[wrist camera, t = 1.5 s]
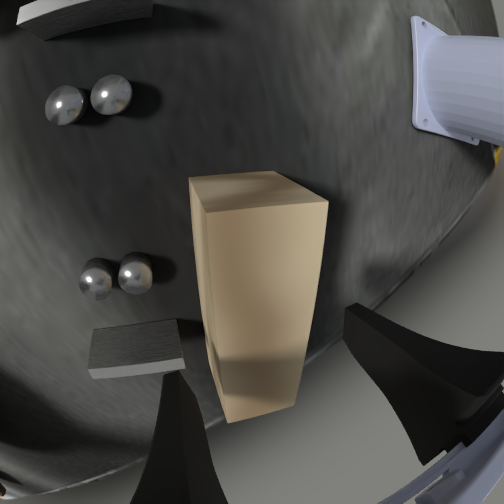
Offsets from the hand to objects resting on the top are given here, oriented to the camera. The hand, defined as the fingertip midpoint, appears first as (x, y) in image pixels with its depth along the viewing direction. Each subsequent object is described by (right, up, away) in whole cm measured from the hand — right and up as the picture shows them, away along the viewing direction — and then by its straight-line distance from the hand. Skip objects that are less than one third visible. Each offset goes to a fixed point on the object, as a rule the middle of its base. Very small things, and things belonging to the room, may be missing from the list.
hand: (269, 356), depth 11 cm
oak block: (-2, +2, +5) cm, 6 cm away
